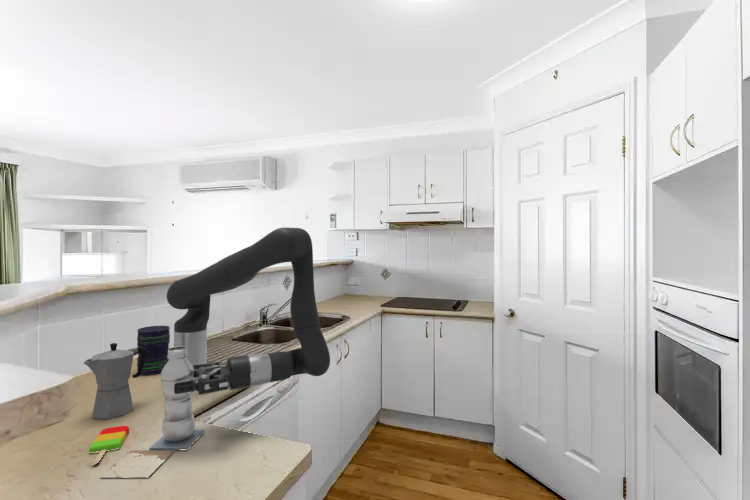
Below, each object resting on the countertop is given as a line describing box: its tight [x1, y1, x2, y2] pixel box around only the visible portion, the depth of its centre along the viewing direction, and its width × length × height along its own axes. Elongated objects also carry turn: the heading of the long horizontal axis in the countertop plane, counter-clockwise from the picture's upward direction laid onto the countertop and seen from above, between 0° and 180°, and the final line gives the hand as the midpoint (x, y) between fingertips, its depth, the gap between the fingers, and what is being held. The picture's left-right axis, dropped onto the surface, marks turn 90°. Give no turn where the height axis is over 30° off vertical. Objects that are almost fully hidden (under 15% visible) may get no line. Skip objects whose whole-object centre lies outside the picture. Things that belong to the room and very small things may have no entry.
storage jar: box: [136, 325, 171, 377], centre depth 131 cm, size 10×10×15 cm
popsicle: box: [88, 425, 130, 462], centre depth 80 cm, size 6×15×2 cm, turn 21°
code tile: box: [128, 449, 175, 460], centre depth 74 cm, size 9×9×1 cm
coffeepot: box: [83, 342, 148, 421], centre depth 99 cm, size 15×9×18 cm, turn 150°
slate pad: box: [148, 429, 205, 450], centre depth 83 cm, size 8×8×1 cm
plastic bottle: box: [160, 346, 196, 442], centre depth 83 cm, size 6×7×20 cm
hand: (173, 382), depth 83 cm, fingers open, 8 cm apart
